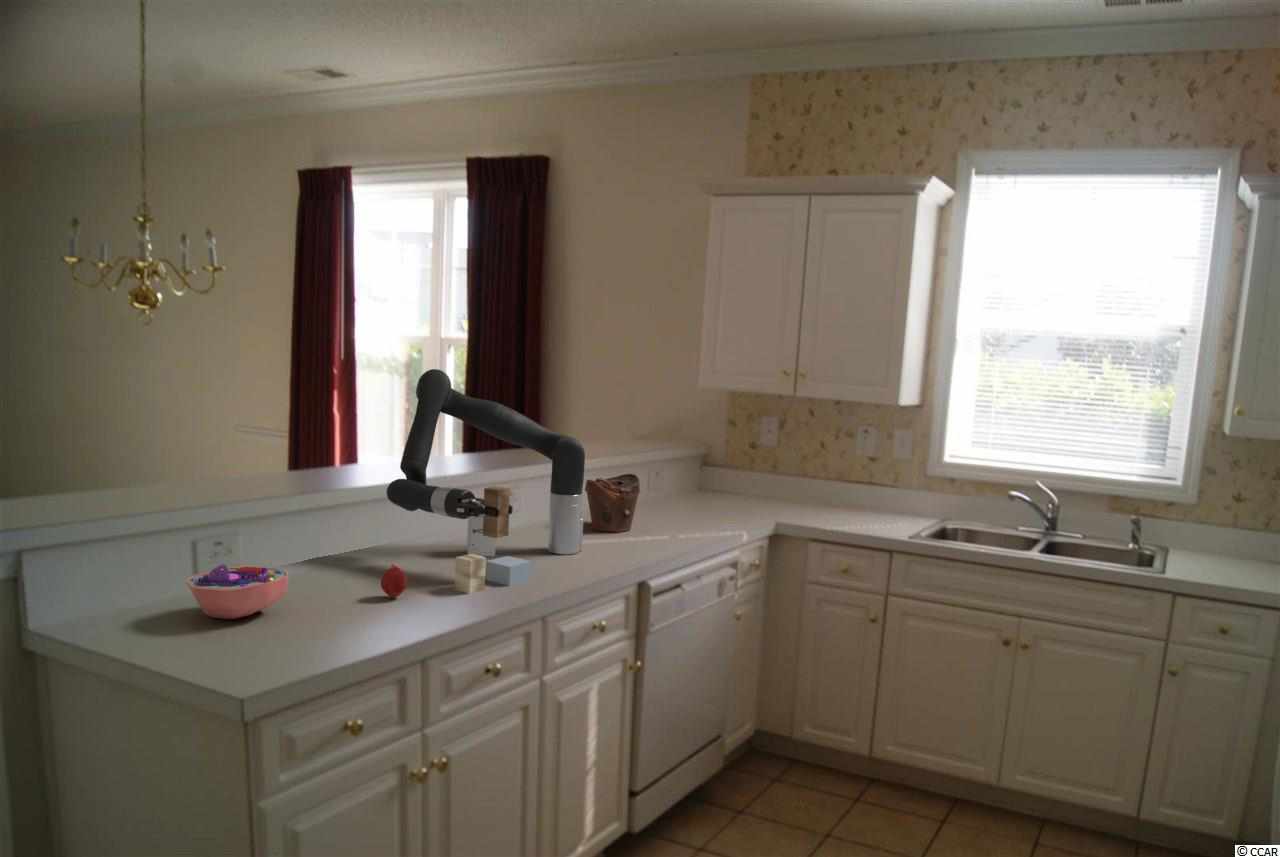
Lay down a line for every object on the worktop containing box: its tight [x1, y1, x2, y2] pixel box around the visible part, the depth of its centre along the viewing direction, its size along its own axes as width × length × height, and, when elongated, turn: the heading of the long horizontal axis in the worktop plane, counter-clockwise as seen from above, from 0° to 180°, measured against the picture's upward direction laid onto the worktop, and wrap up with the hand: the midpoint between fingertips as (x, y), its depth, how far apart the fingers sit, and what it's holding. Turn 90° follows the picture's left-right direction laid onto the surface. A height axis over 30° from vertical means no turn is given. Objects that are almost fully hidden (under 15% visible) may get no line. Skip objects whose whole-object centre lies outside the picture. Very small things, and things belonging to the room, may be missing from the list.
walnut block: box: [483, 486, 511, 539], centre depth 220 cm, size 4×4×12 cm
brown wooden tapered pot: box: [584, 473, 641, 533], centre depth 290 cm, size 18×20×18 cm
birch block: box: [454, 553, 487, 595], centre depth 211 cm, size 5×5×8 cm
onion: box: [380, 563, 408, 599], centre depth 201 cm, size 6×6×8 cm
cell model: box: [183, 563, 290, 620], centre depth 182 cm, size 17×20×11 cm
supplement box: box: [466, 516, 497, 557], centre depth 246 cm, size 7×7×13 cm
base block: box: [485, 555, 532, 587], centre depth 221 cm, size 8×8×5 cm
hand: (505, 511), depth 218 cm, fingers closed on walnut block, 4 cm apart
